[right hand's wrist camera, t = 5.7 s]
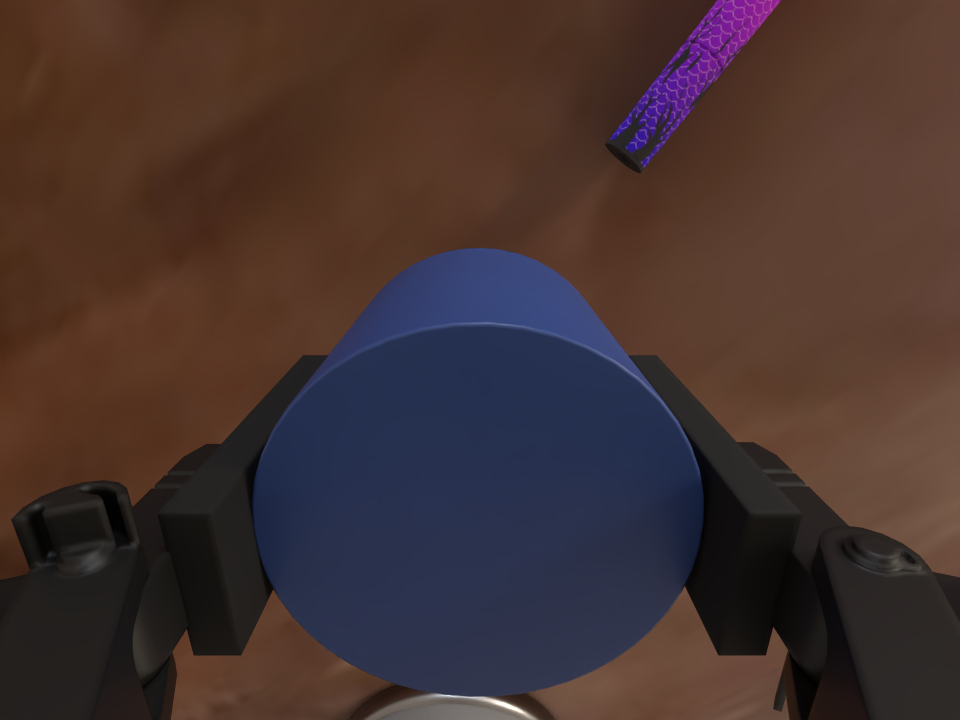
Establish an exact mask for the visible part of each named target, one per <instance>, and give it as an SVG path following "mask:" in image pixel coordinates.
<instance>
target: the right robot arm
mask: <svg viewBox="0 0 960 720" xmlns="http://www.w3.org/2000/svg"><path fill="white" fill-rule="evenodd" d="M628 356H629V358H630V359H631V360H632V361H633V363H634V364H635V365H636V367H637V368H638V369H639V370H640V372H641V373H642V374H643V376H644V377H645V378H646V379H647V381H648V382H649V383H650V385H651V386H652V387H653V388H654V390H655V391H656V392H657V394H658V395H659V396H660V397H661V399H662V400H663V401H664V403H665V404H666V405H667V407H668V408H669V409H670V411H671V412H672V414H673V415H674V416H675V418H676V419H677V420H678V422H679V423H680V425H681V427H682V429H683V431H684V433H685V435H686V437H687V439H688V441H689V442H690V444H691V447H692V450H693V453H694V455H695V458H696V461H697V464H698V467H699V470H700V476H701V482H702V488H703V494H704V524H703V530H702V536H701V543H700V548H699V551H698V554H697V557H696V560H695V563H694V567H693V570H692V572H691V574H690V576H689V578H688V580H687V582H686V584H685V587H686V589H687V591H688V594H689V596H690V598H691V600H692V602H693V604H694V606H695V608H696V610H697V612H698V614H699V616H700V618H701V620H702V622H703V624H704V626H705V629H706V631H707V633H708V635H709V637H710V639H711V641H712V643H713V645H714V647H715V649H716V651H717V653H718V655H766V653H767V649H768V645H769V641H770V637H771V633H772V629H773V627H774V628H775V630H776V631H777V633H778V635H779V636H780V638H781V639H782V641H783V643H784V644H785V646H786V647H787V649H788V652H787V656H786V659H785V663H784V667H783V670H782V674H781V677H780V681H779V685H778V688H777V692H776V695H775V701H774V708H773V709H775V710H778V711H782V708H783V704H784V701H785V699H786V698H787V705H788V712H789V719H790V720H960V578H959V577H954V576H950V575H945V574H940V573H935V572H932V571H931V569H930V567H929V566H928V565H927V564H926V563H925V561H924V560H923V559H922V558H921V557H920V556H919V555H918V554H917V553H915V552H914V551H912V550H911V549H910V548H908V547H907V546H905V545H904V544H903V543H900V542H898V541H896V540H894V539H892V538H890V537H888V536H886V535H884V534H881V533H878V532H874V531H871V530H868V529H864V528H860V527H851V526H848V525H847V524H846V523H845V522H844V521H843V520H842V519H841V518H840V517H839V516H838V515H837V514H836V513H835V512H834V511H833V510H832V509H831V508H830V507H829V506H828V505H827V504H826V503H825V502H824V501H823V500H822V499H821V498H820V497H819V496H818V495H817V494H816V493H815V492H814V491H812V490H811V489H810V488H809V487H806V486H805V483H804V482H803V481H802V480H801V479H800V478H799V477H798V476H797V475H796V474H793V473H792V470H791V469H790V468H789V467H788V466H787V465H786V464H785V463H784V462H783V461H782V460H781V459H780V458H779V457H778V456H777V455H775V454H773V453H772V452H770V451H768V450H766V449H764V448H763V447H761V446H759V445H757V444H755V443H754V442H736V441H735V440H734V439H733V438H732V437H731V436H730V434H729V433H728V432H727V431H726V430H725V429H724V428H723V427H722V426H721V425H720V424H719V423H718V421H717V420H716V419H715V418H714V417H713V416H712V415H711V414H710V413H709V412H708V411H707V410H706V409H705V407H704V406H703V405H702V404H701V403H700V402H699V401H698V400H697V399H696V398H695V397H694V396H693V394H692V393H691V392H690V391H689V390H688V389H687V388H686V387H685V386H684V385H683V384H682V383H681V381H680V380H679V379H678V378H677V377H676V376H675V375H674V374H673V373H672V372H671V371H670V370H669V368H668V367H667V366H666V365H665V364H664V363H663V362H662V361H661V360H660V359H659V358H658V357H657V355H628ZM327 357H328V355H303V356H302V357H301V358H300V359H299V360H298V362H297V363H296V364H295V365H294V366H293V367H292V368H291V369H290V370H289V371H288V372H287V373H286V375H285V376H284V377H283V378H282V379H281V380H280V381H279V382H278V383H277V384H276V385H275V386H274V388H273V389H272V390H271V391H270V392H269V393H268V394H267V395H266V396H265V397H264V398H263V399H262V401H261V402H260V403H259V404H258V405H257V406H256V407H255V408H254V409H253V410H252V411H251V412H250V414H249V415H248V416H247V417H246V418H245V419H244V420H243V421H242V422H241V423H240V424H239V425H238V427H237V428H236V429H235V430H234V431H233V432H232V433H231V434H230V435H229V436H228V437H227V438H226V439H225V441H224V442H223V443H222V444H206V445H204V446H202V447H201V448H199V449H197V450H195V451H193V452H192V453H190V454H188V455H186V456H185V457H183V458H182V459H181V460H180V461H179V462H178V463H177V464H176V465H175V466H174V467H173V468H172V469H171V470H170V471H169V472H168V475H167V476H164V477H163V478H162V479H161V480H160V481H159V482H158V483H157V484H156V485H155V488H154V489H151V490H150V491H149V492H148V493H147V494H146V495H145V496H144V497H143V498H142V499H141V500H140V501H139V502H138V503H136V504H135V505H134V506H133V507H132V505H131V502H130V498H129V494H128V491H127V488H126V487H125V486H123V485H122V484H120V483H119V482H112V481H104V480H103V481H93V482H84V483H80V484H76V485H72V486H68V487H64V488H61V489H59V490H56V491H54V492H51V493H49V494H47V495H44V496H42V497H40V498H38V499H37V500H35V501H33V502H32V503H30V504H28V505H27V506H25V507H23V508H22V509H21V510H20V511H19V512H18V513H17V514H16V515H15V516H14V517H13V518H12V519H11V520H12V523H13V526H14V528H15V531H16V534H17V536H18V539H19V542H20V544H21V547H22V549H23V552H24V555H25V557H26V560H27V563H28V565H29V568H30V570H29V572H28V573H27V575H23V576H18V577H13V578H8V579H3V580H0V720H171V713H172V706H173V699H174V692H175V685H176V678H177V671H176V663H175V659H174V656H173V652H172V651H173V650H174V648H175V646H176V645H177V643H178V642H179V640H180V638H181V637H182V635H183V634H184V632H185V631H186V629H187V631H188V635H189V639H190V643H191V646H192V650H193V654H194V655H242V652H243V650H244V648H245V646H246V644H247V642H248V640H249V638H250V636H251V634H252V632H253V630H254V628H255V626H256V624H257V622H258V620H259V617H260V615H261V613H262V611H263V609H264V607H265V605H266V603H267V601H268V599H269V597H270V595H271V593H272V591H273V587H272V585H271V583H270V581H269V580H268V578H267V576H266V573H265V570H264V568H263V565H262V562H261V560H260V557H259V554H258V549H257V544H256V538H255V533H254V527H253V515H252V499H253V490H254V481H255V476H256V472H257V469H258V465H259V461H260V458H261V454H262V452H263V450H264V447H265V445H266V443H267V441H268V439H269V437H270V434H271V432H272V430H273V428H274V427H275V425H276V424H277V422H278V421H279V419H280V418H281V416H282V415H283V413H284V412H285V410H286V409H287V407H288V406H289V405H290V403H291V402H292V401H293V400H294V398H295V397H296V396H297V395H298V393H299V392H300V391H301V389H302V388H303V387H304V386H305V384H306V383H307V382H308V381H309V379H310V378H311V377H312V376H313V374H314V373H315V372H316V371H317V369H318V368H319V367H320V366H321V364H322V363H323V362H324V360H325V359H326V358H327ZM350 720H555V719H554V717H553V716H552V715H551V714H550V713H549V712H548V711H547V710H546V709H545V708H544V707H543V706H542V705H541V704H540V703H538V702H537V701H536V700H534V699H533V698H531V697H530V696H528V695H527V694H525V693H522V694H514V695H504V696H495V697H465V696H452V695H442V694H436V693H431V692H425V691H419V690H416V689H412V688H408V687H405V686H401V685H395V686H393V687H390V688H388V689H386V690H384V691H382V692H380V693H378V694H377V695H375V696H373V697H372V698H371V699H369V700H368V701H366V702H365V703H364V704H363V705H362V706H361V707H360V708H358V710H357V711H356V712H355V713H354V714H353V715H352V717H351V718H350Z"/></svg>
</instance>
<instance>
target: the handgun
mask: <svg viewBox="0 0 960 720" xmlns="http://www.w3.org/2000/svg"><path fill="white" fill-rule="evenodd" d="M780 1H781V0H717V2H716V3H715V4H714V6H713V7H712V8H711V9H710V11H709V12H708V13H707V15H706V16H705V17H704V18H703V20H702V21H701V22H700V24H699V25H698V26H697V27H696V29H695V30H694V31H693V32H692V34H691V35H690V36H689V38H688V39H687V40H686V42H685V43H684V44H683V45H682V47H681V48H680V49H679V50H678V52H677V53H676V54H675V56H674V57H673V58H672V59H671V61H670V62H669V63H668V65H667V66H666V67H665V68H664V70H663V71H662V72H661V74H660V75H659V76H658V77H657V79H656V80H655V81H654V82H653V84H652V85H651V86H650V88H649V89H648V90H647V91H646V93H645V94H644V95H643V97H642V98H641V99H640V100H639V102H638V103H637V104H636V106H635V107H634V108H633V109H632V111H631V112H630V113H629V115H628V116H627V117H626V118H625V120H624V121H623V122H622V123H621V125H620V126H619V127H618V129H617V130H616V131H615V132H614V134H613V135H612V136H611V138H610V139H609V140H608V141H607V143H606V147H607V148H608V149H609V151H610V152H611V153H612V154H613V155H614V156H615V157H616V158H617V159H618V160H620V161H621V162H622V163H623V164H625V165H626V166H627V167H629V168H630V169H632V170H633V171H635V172H638V173H641V171H642V170H643V169H644V168H645V167H646V165H647V164H648V163H649V162H650V160H651V159H652V158H653V157H654V155H655V154H656V153H657V152H658V151H659V149H660V148H661V147H662V146H663V144H664V143H665V142H666V141H667V140H668V138H669V137H670V136H671V135H672V133H673V132H674V131H675V130H676V128H677V127H678V126H679V125H680V124H681V122H682V121H683V120H684V119H685V117H686V116H687V115H688V114H689V113H690V111H691V110H692V109H693V108H694V106H695V105H696V104H697V103H698V102H699V100H700V99H701V98H702V97H703V95H704V94H705V93H706V92H707V90H708V89H709V88H710V87H711V86H712V84H713V83H714V82H715V81H716V79H717V78H718V77H719V76H720V74H721V73H722V72H723V71H724V70H725V68H726V67H727V66H728V65H729V63H730V62H731V61H732V60H733V59H734V57H735V56H736V55H737V54H738V52H739V51H740V50H741V49H742V48H743V46H744V45H745V44H746V43H747V41H748V40H749V39H750V38H751V37H752V35H753V34H754V33H755V32H756V30H757V29H758V28H759V27H760V25H761V24H762V23H763V22H764V21H765V19H766V18H767V17H768V16H769V14H770V13H771V12H772V11H773V10H774V8H775V7H776V6H777V5H778V3H779V2H780Z"/></svg>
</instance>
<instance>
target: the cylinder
mask: <svg viewBox="0 0 960 720" xmlns="http://www.w3.org/2000/svg"><path fill="white" fill-rule="evenodd" d="M252 515H253V527H254V533H255V538H256V544H257V549H258V554H259V557H260V560H261V562H262V565H263V568H264V570H265V573H266V576H267V578H268V580H269V581H270V583H271V585H272V587H273V589H274V591H275V592H276V594H277V596H278V598H279V599H280V600H281V602H282V603H283V605H284V606H285V607H286V609H287V610H288V611H289V613H290V614H291V615H292V617H293V618H294V619H295V620H296V621H297V622H298V623H299V624H300V625H301V626H302V627H303V628H304V629H305V630H306V631H307V632H308V633H309V635H311V636H312V637H313V638H314V639H316V640H317V641H318V642H319V643H320V644H322V645H323V646H324V647H325V648H326V649H328V650H329V651H331V652H332V653H334V654H335V655H337V656H338V657H340V658H341V659H343V660H344V661H346V662H348V663H349V664H351V665H353V666H355V667H357V668H359V669H361V670H363V671H365V672H367V673H369V674H371V675H373V676H376V677H378V678H381V679H384V680H386V681H389V682H391V683H394V684H397V685H401V686H405V687H408V688H412V689H416V690H419V691H425V692H431V693H436V694H442V695H452V696H465V697H495V696H504V695H514V694H522V693H526V692H531V691H536V690H541V689H546V688H549V687H552V686H555V685H559V684H562V683H565V682H568V681H571V680H573V679H576V678H578V677H580V676H583V675H585V674H588V673H590V672H592V671H594V670H596V669H598V668H600V667H601V666H603V665H605V664H607V663H609V662H611V661H612V660H614V659H616V658H617V657H618V656H620V655H621V654H623V653H624V652H626V651H627V650H628V649H630V648H631V647H633V646H634V645H635V644H636V643H638V642H639V641H640V640H641V639H642V638H643V637H644V636H645V635H647V634H648V633H649V632H650V631H651V630H652V629H653V628H654V627H655V626H656V625H657V624H658V622H659V621H660V620H661V619H662V618H663V617H664V616H665V614H666V613H667V612H668V611H669V610H670V608H671V607H672V605H673V604H674V602H675V601H676V599H677V598H678V596H679V595H680V593H681V592H682V590H683V588H684V586H685V584H686V582H687V580H688V578H689V576H690V574H691V572H692V570H693V567H694V563H695V560H696V557H697V554H698V551H699V548H700V543H701V536H702V530H703V524H704V494H703V488H702V482H701V476H700V470H699V467H698V464H697V461H696V458H695V455H694V453H693V450H692V447H691V444H690V442H689V441H688V439H687V437H686V435H685V433H684V431H683V429H682V427H681V425H680V423H679V422H678V420H677V419H676V418H675V416H674V415H673V414H672V412H671V411H670V409H669V408H668V407H667V405H666V404H665V403H664V401H663V400H662V399H661V397H660V396H659V395H658V394H657V392H656V391H655V390H654V388H653V387H652V386H651V385H650V383H649V382H648V381H647V379H646V378H645V377H644V376H643V374H642V373H641V372H640V370H639V369H638V368H637V367H636V365H635V364H634V363H633V361H632V360H631V359H630V358H629V356H628V355H627V354H626V352H625V351H624V350H623V348H622V347H621V346H620V345H619V343H618V342H617V341H616V339H615V338H614V337H613V336H612V334H611V333H610V332H609V330H608V329H607V328H606V327H605V325H604V324H603V323H602V321H601V320H600V319H599V318H598V316H597V315H596V314H595V312H594V311H593V310H592V309H591V307H590V306H589V305H588V303H587V302H586V301H585V299H584V298H583V297H582V296H581V294H580V293H579V292H578V291H577V290H576V289H575V288H574V287H573V286H572V285H571V284H570V283H569V282H568V281H567V280H566V279H564V278H563V277H562V276H560V275H559V274H558V273H557V272H555V271H554V270H552V269H551V268H549V267H547V266H545V265H543V264H542V263H540V262H538V261H536V260H533V259H531V258H528V257H526V256H523V255H521V254H517V253H512V252H508V251H504V250H497V249H488V248H469V249H461V250H454V251H448V252H445V253H441V254H438V255H435V256H431V257H429V258H427V259H424V260H422V261H420V262H418V263H416V264H414V265H412V266H410V267H409V268H407V269H406V270H404V271H402V272H401V273H399V274H398V275H397V276H396V277H395V278H393V279H392V280H391V281H390V282H389V283H387V284H386V285H385V286H384V287H383V289H382V290H381V291H380V292H379V293H378V294H377V295H376V296H375V297H374V299H373V300H372V301H371V303H370V304H369V305H368V306H367V308H366V309H365V310H364V311H363V313H362V314H361V315H360V316H359V318H358V319H357V320H356V321H355V323H354V324H353V325H352V326H351V328H350V329H349V330H348V331H347V333H346V334H345V335H344V337H343V338H342V339H341V340H340V342H339V343H338V344H337V345H336V347H335V348H334V349H333V350H332V352H331V353H330V354H329V355H328V357H327V358H326V359H325V360H324V362H323V363H322V364H321V366H320V367H319V368H318V369H317V371H316V372H315V373H314V374H313V376H312V377H311V378H310V379H309V381H308V382H307V383H306V384H305V386H304V387H303V388H302V389H301V391H300V392H299V393H298V395H297V396H296V397H295V398H294V400H293V401H292V402H291V403H290V405H289V406H288V407H287V409H286V410H285V412H284V413H283V415H282V416H281V418H280V419H279V421H278V422H277V424H276V425H275V427H274V428H273V430H272V432H271V434H270V437H269V439H268V441H267V443H266V445H265V447H264V450H263V452H262V454H261V458H260V461H259V465H258V469H257V472H256V476H255V481H254V490H253V499H252Z"/></svg>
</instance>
